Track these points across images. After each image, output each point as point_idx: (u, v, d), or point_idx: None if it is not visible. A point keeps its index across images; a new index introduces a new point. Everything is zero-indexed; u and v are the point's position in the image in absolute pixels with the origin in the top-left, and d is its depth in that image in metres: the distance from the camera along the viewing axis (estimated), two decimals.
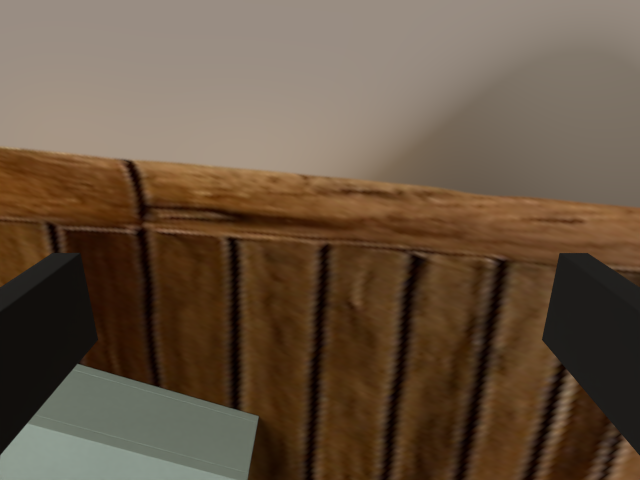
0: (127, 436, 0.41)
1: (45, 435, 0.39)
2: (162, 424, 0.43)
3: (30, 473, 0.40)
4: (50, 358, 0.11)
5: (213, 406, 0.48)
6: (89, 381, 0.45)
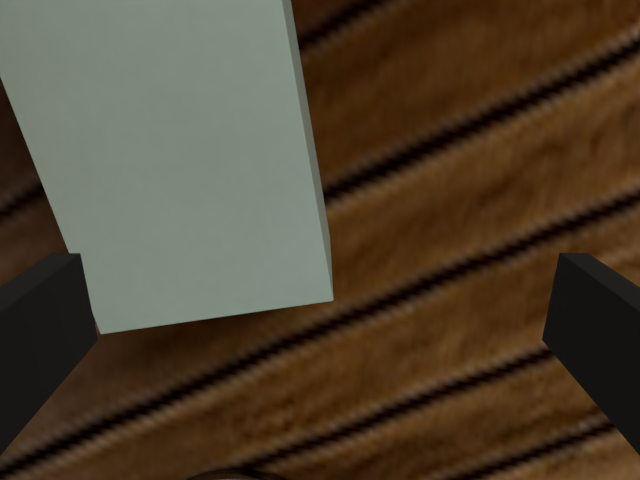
0: (288, 27, 0.18)
1: None
2: (301, 88, 0.21)
3: None
4: (50, 358, 0.11)
5: None
6: None
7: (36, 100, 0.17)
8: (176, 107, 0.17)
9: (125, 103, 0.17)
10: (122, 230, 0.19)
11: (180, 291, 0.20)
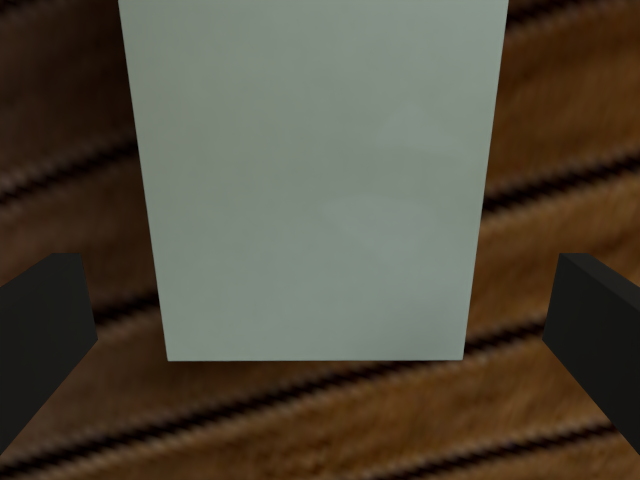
0: None
1: None
2: None
3: None
4: (50, 358, 0.11)
5: None
6: None
7: (161, 59, 0.13)
8: (340, 98, 0.14)
9: (276, 83, 0.13)
10: (229, 240, 0.15)
11: (281, 323, 0.16)
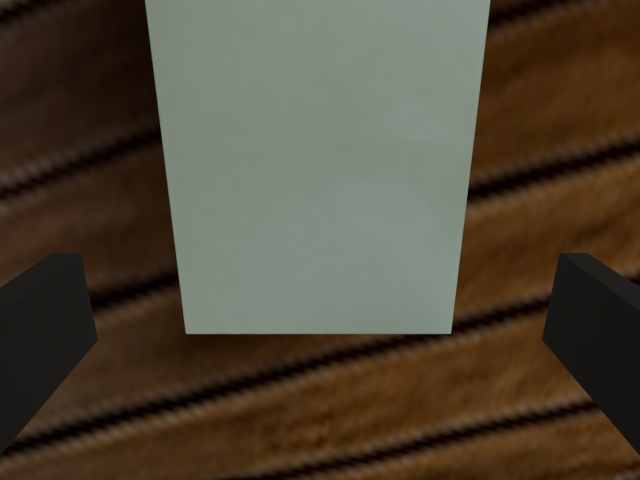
0: None
1: None
2: None
3: None
4: (50, 358, 0.11)
5: None
6: None
7: (183, 63, 0.15)
8: (341, 98, 0.15)
9: (284, 85, 0.15)
10: (242, 224, 0.17)
11: (288, 300, 0.18)
